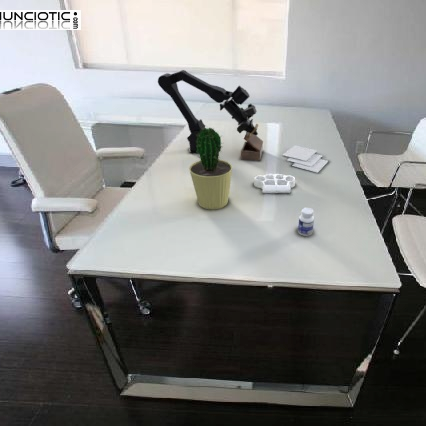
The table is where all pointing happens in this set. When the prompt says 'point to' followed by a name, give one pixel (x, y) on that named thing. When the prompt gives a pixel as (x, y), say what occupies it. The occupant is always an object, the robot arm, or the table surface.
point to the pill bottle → (306, 222)
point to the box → (250, 152)
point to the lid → (254, 139)
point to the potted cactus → (210, 172)
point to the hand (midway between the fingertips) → (257, 134)
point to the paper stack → (305, 158)
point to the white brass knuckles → (274, 183)
